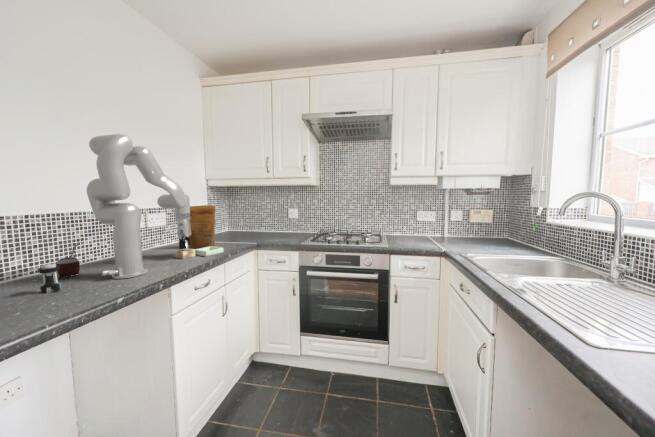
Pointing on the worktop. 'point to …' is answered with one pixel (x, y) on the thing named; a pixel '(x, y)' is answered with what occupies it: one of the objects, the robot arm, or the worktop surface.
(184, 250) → the steel pin
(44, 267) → the black toy figure
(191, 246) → the pancake mix bag
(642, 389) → the worktop surface
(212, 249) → the tray
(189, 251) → the socket block
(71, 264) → the manual coffee grinder
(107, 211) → the robot arm
